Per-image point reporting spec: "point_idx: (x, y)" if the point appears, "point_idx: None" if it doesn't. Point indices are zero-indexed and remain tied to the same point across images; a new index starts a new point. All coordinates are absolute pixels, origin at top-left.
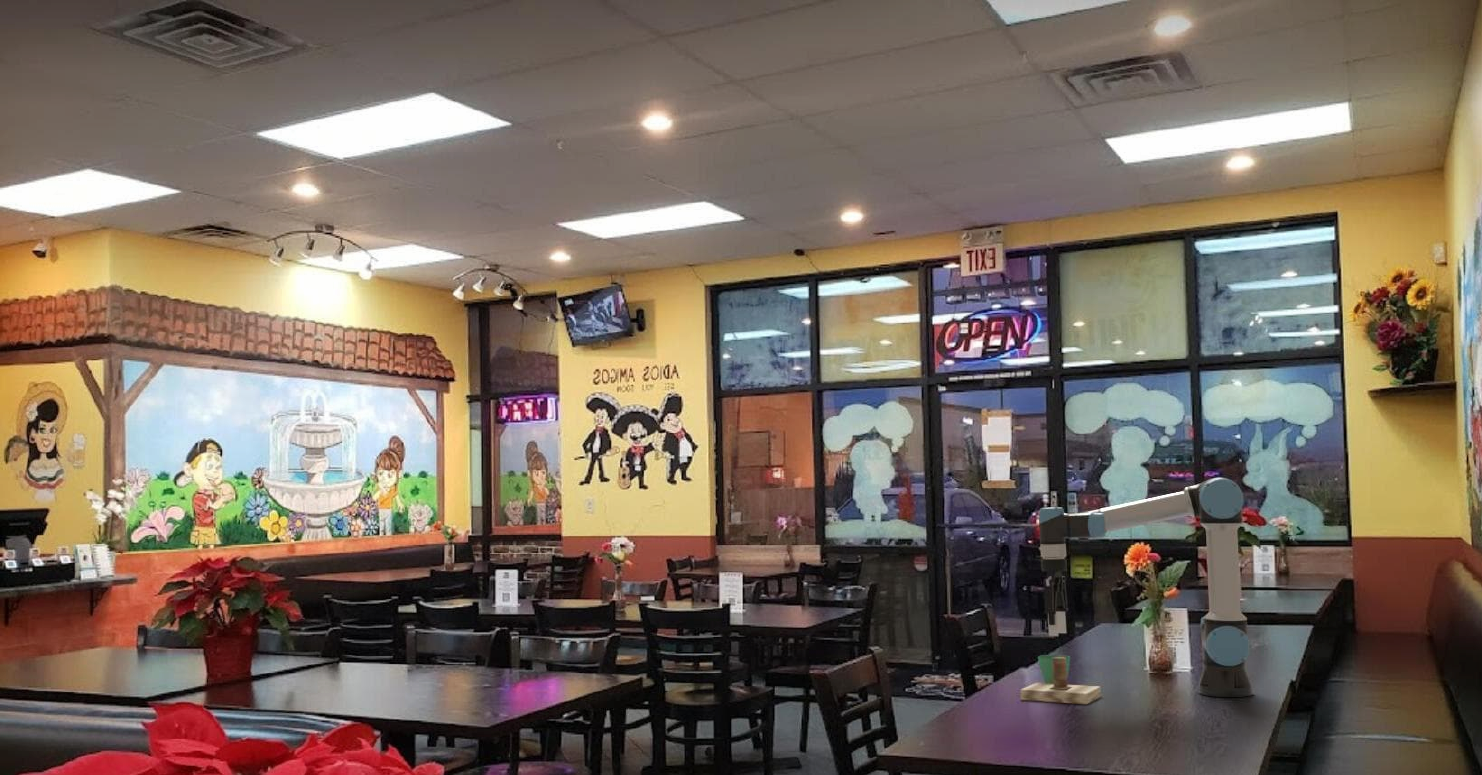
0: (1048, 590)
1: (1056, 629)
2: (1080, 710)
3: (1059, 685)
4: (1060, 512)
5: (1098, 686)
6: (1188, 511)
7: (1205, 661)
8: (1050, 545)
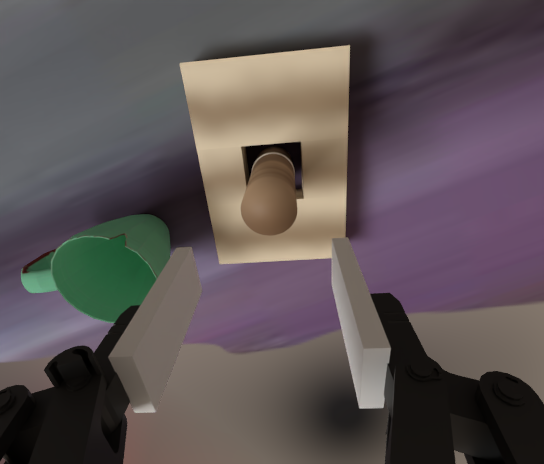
0: None
1: (355, 265)
2: (467, 17)
3: (293, 171)
4: None
5: (182, 71)
6: None
7: None
8: None
